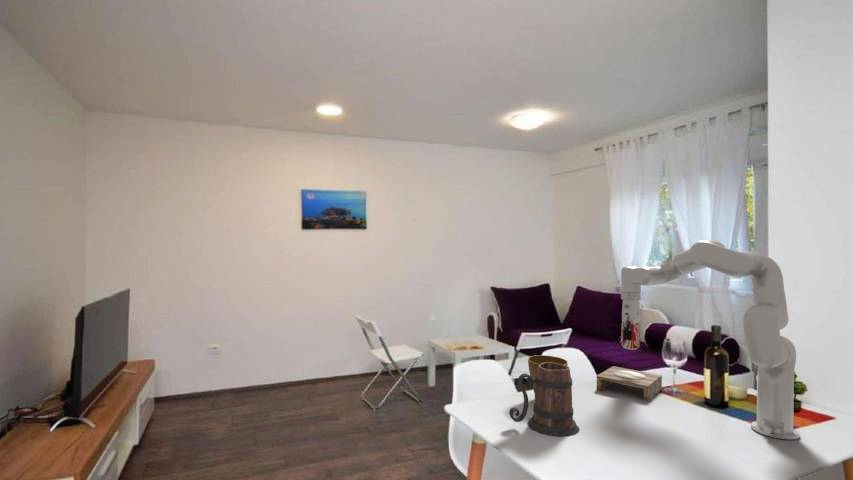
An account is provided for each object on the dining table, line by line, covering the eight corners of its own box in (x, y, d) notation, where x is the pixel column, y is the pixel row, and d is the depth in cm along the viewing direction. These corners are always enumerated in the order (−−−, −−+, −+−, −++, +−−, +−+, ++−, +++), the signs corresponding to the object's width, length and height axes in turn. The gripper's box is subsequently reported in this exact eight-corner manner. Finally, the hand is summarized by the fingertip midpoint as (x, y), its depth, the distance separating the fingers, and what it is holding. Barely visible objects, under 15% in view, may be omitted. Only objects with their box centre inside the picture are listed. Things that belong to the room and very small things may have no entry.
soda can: (631, 351, 184) (632, 321, 184) (617, 347, 191) (617, 319, 191) (643, 349, 188) (643, 320, 188) (628, 345, 194) (629, 317, 194)
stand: (648, 401, 175) (648, 385, 175) (596, 390, 188) (596, 374, 188) (661, 389, 190) (661, 374, 190) (613, 379, 203) (613, 365, 203)
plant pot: (524, 404, 170) (524, 362, 170) (530, 392, 183) (531, 353, 183) (565, 411, 164) (566, 367, 164) (568, 398, 178) (569, 357, 178)
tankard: (564, 415, 160) (565, 358, 160) (589, 435, 143) (590, 372, 143) (501, 418, 156) (502, 360, 156) (519, 439, 139) (520, 375, 140)
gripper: (633, 298, 180) (633, 343, 180) (646, 295, 193) (646, 336, 193) (614, 296, 185) (614, 340, 185) (628, 293, 198) (627, 334, 198)
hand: (630, 338), depth 189 cm, fingers closed on soda can, 7 cm apart
